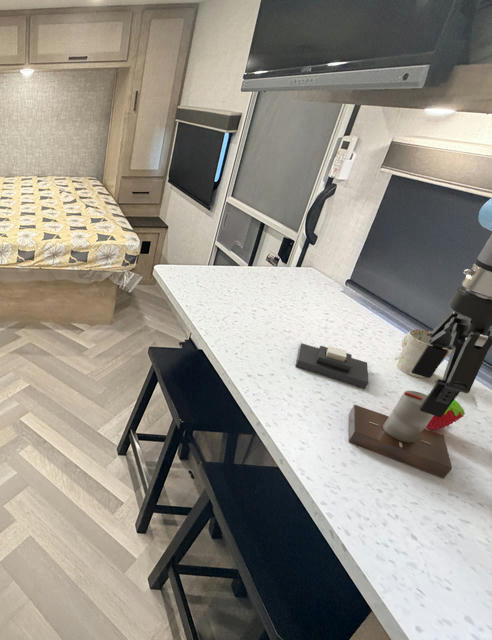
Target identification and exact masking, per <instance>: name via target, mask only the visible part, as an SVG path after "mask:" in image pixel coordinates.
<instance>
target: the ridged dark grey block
mask: <svg viewBox="0 0 492 640" xmlns="http://www.w3.org/2000/svg"><path fill="white" fill-rule="evenodd" d="M327 349H328V347H327V346H323V345H319V347H316V346H313V345H309V344H306V343H303V342H302V343H300V345H299V348H298V350H297V355H296V361H295V366H294V367H295V368H298V369H301V370H303V371H307V372H310V373H312V374H316V375H318V376H319V375H320V376H322V377H325V378H327V379H332V380H335V381H338V382H341V383H344V384H346V385H349V386H350V385H351V386H353V387H357V388H359V389H363V390H365V389H366V388H367V386H368V384H369V373H368V372H369V368H368V362H367V361H363V360H359V359H357V358H353V357H352V353H351V354H350V353H348V352H346V359H345V361H344V362H342V361H338V360H335V359H332V358H328V357H326V351H327Z"/></svg>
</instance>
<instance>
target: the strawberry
mask: <svg viewBox="0 0 492 640" xmlns="http://www.w3.org/2000/svg"><path fill="white" fill-rule="evenodd" d="M465 414H466V413H465V409H464V408H463V407H462V405H461V404H460V403H459V402H458V401H457V400H455V399H454V401H453V402H452V403H451V405H450V406H449V407H448V409H447V410H446V411H445V413H444V414H443V416H442V417H438V416H435V415H434V416H433V417H432V419H431V420H430V422H429V423H428V424H427V426H426V427H425V428H426V429H427V430H431V431H433V430H441V429H445V428H446V427H449V426H450V425H453V423H456V421H457V422H458V421H459V420H460V419H462V418H464V416H465Z"/></svg>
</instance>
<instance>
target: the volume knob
mask: <svg viewBox="0 0 492 640" xmlns="http://www.w3.org/2000/svg"><path fill="white" fill-rule="evenodd" d="M428 395H429V394H426V393H423V392H420V391H415V390H405V391H404V392H403V393H402V394H401V397H400V398H399V400H398V401H397V403H396V404H395V406H394V407H393V409H392V411H391V412H390V413H389V415H388V416H389V417H388V419H387V420H386V422H385V423H384V425H383V429H384V431H385V432H386V433H388V434H389V435H390V436H392V437H394V438H395V439H398V440H400V441H403V442H408V443H413V442H415V441H416V440H417V439H418V437H419V436H420V434H421V433H422V431H423V430H424V429H426V428H427V427H426V426H427V424H428V423H429V422H430V420H431V419H432V417H433V416H434V415H432V414H429V413H426V412H423V411H420V409H419V408H420V407H421V405H422V404H423V402H424V401H425V399H426V398H427V396H428Z"/></svg>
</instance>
